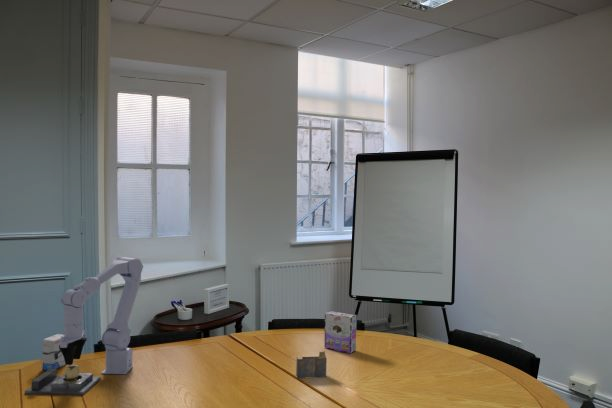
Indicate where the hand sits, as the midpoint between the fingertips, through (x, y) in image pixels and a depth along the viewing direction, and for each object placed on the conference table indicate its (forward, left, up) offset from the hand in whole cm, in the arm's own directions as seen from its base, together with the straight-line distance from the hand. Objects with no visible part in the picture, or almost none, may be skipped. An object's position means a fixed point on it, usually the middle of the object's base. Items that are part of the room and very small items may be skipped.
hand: (72, 361), depth 171 cm
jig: (+3, 0, -9) cm, 9 cm away
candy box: (-99, -47, -9) cm, 110 cm away
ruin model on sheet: (-85, -14, -10) cm, 87 cm away
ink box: (+16, -19, -9) cm, 26 cm away
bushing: (0, 0, -8) cm, 8 cm away
